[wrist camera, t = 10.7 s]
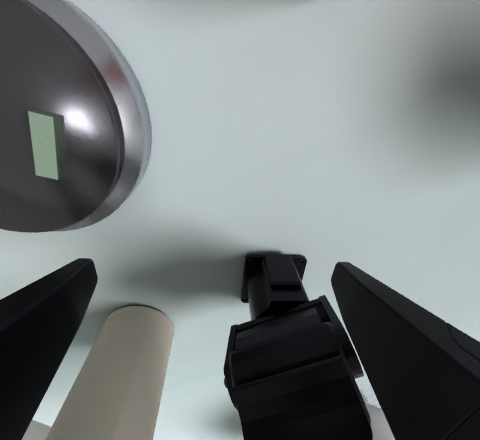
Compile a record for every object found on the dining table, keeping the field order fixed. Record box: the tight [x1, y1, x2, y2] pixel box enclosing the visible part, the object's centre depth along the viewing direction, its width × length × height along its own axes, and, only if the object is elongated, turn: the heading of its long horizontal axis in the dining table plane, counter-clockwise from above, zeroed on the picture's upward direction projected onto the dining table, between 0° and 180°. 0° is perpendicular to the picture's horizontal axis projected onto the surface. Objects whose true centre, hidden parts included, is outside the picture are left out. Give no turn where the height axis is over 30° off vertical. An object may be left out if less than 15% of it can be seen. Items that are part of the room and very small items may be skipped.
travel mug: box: [46, 306, 174, 440], centre depth 21 cm, size 8×8×18 cm
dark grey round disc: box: [27, 0, 152, 231], centre depth 16 cm, size 16×16×3 cm
